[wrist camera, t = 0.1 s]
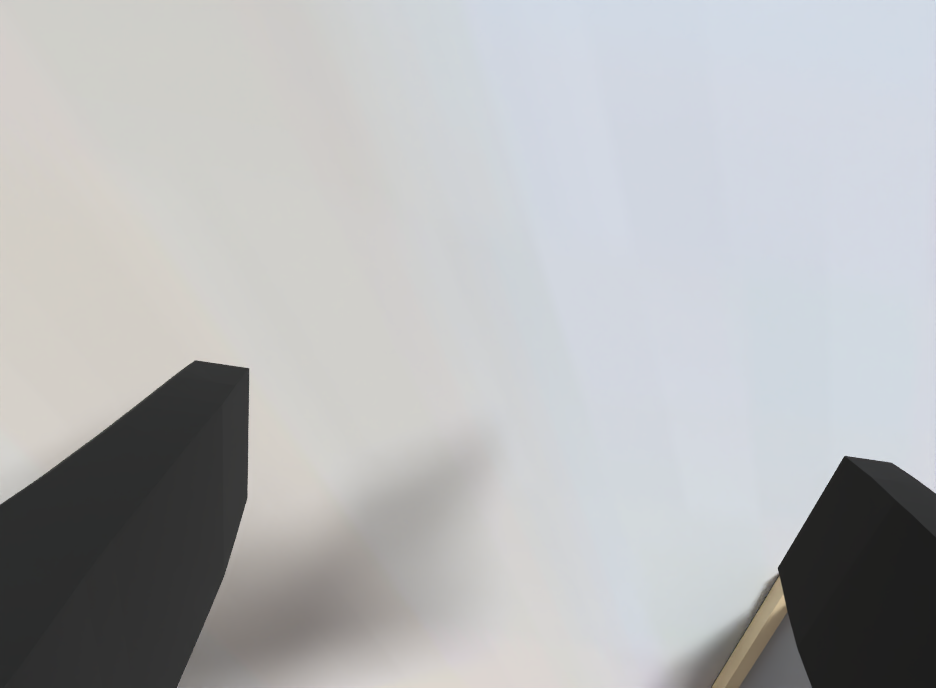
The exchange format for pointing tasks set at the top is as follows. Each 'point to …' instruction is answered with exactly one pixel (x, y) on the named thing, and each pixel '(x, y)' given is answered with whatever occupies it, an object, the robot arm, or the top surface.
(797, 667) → the plug housing
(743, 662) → the tan square board
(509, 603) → the top surface
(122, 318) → the top surface
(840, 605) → the robot arm
